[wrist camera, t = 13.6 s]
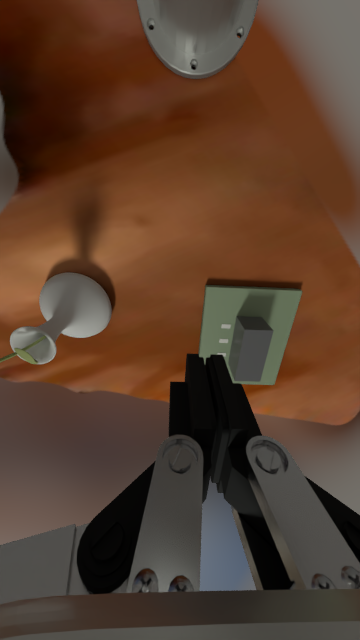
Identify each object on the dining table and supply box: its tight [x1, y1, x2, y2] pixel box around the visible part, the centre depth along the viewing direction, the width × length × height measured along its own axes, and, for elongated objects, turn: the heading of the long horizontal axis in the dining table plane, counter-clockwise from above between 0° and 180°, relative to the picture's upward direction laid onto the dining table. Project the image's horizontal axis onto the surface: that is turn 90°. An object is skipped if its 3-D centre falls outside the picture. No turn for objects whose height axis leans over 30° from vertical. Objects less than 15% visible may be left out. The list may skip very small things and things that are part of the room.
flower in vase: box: [0, 272, 112, 364], centre depth 26 cm, size 13×11×25 cm
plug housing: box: [228, 316, 274, 382], centre depth 38 cm, size 10×4×5 cm, turn 177°
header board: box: [198, 285, 302, 385], centre depth 39 cm, size 20×16×5 cm
